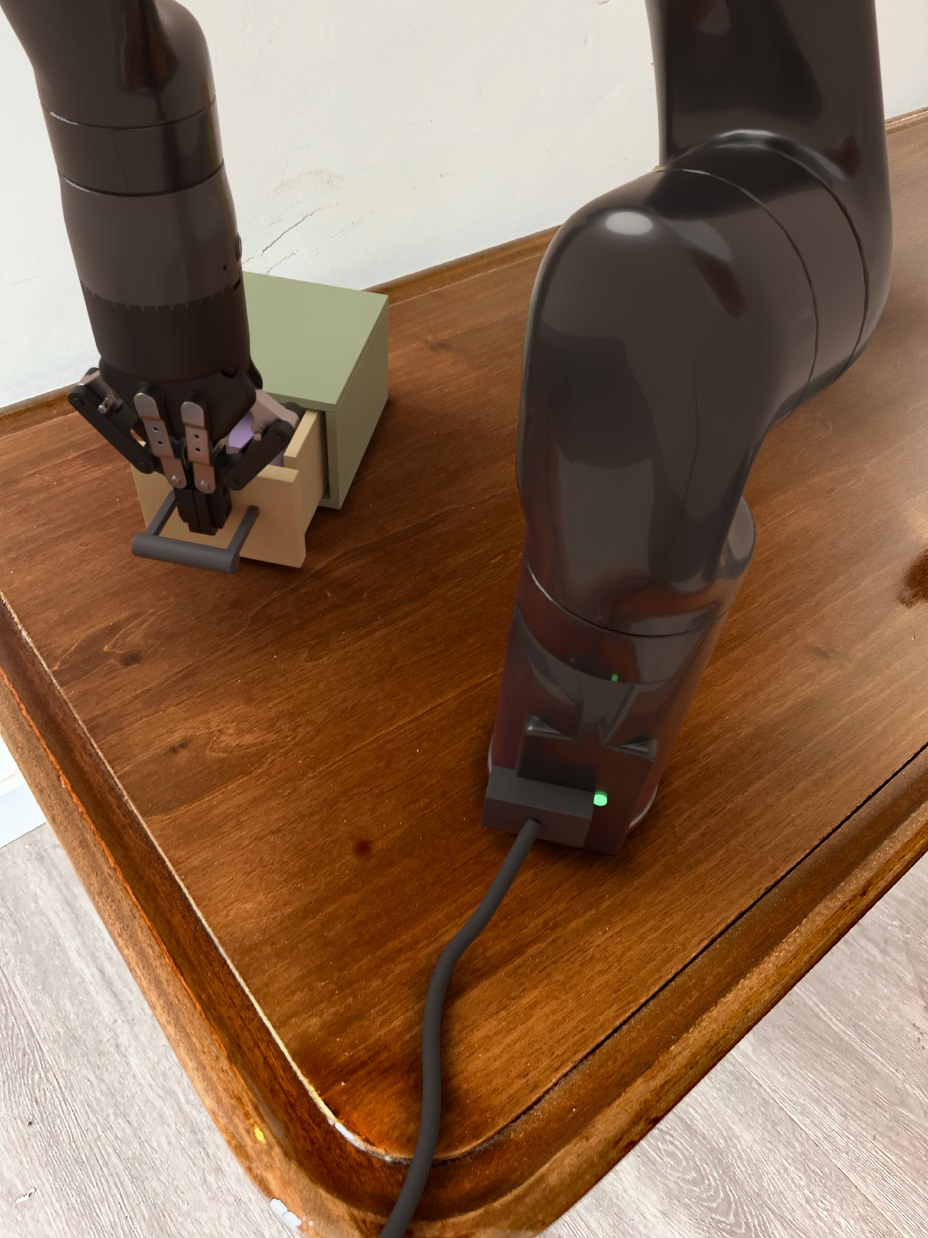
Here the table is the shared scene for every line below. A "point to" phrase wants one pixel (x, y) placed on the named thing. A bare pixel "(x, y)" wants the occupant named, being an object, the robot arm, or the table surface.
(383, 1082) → the table surface
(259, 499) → the drawer
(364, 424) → the cabinet
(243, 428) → the lilac toy cube
